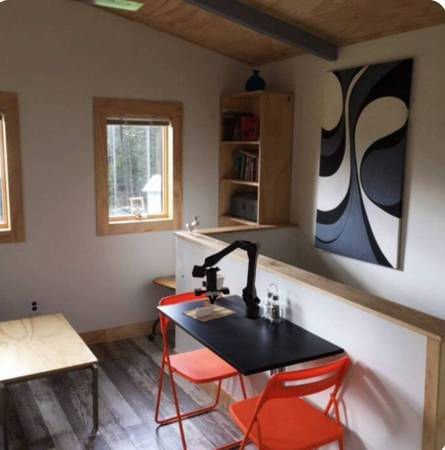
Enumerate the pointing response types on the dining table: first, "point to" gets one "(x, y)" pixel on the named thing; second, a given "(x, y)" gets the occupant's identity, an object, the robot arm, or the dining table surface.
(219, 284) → the foam cup
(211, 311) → the fence fixed
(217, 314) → the card
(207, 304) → the gate panel
